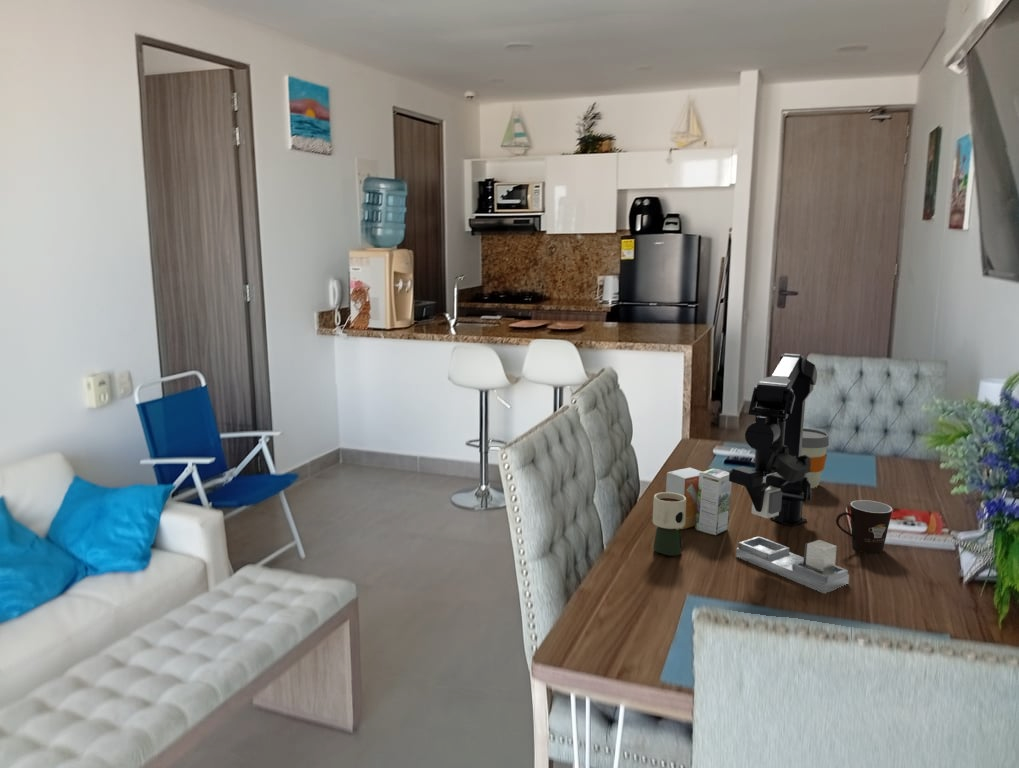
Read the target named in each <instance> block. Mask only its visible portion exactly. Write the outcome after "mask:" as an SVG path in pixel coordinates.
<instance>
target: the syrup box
mask: <svg viewBox="0 0 1019 768" xmlns="http://www.w3.org/2000/svg"><path fill="white" fill-rule="evenodd" d="M729 472H730V471H729ZM729 472H728V471H726V470H722V469H719V468H710V469H707V470H705V471H702V473H699V485H698V499H697V514H696V526H695V527H694V528H695V530H696V531H699V532H702V533H705V534H706V533H707V534H710V535H713V536H717V535H719V534H722V533H724V532H725V531H728V530H729V523H730V522H729V521H730V509H731V498H732V497H731V496H732V483H733V482H730V481H729Z"/></svg>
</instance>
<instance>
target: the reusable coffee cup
mask: <svg viewBox="0 0 1019 768" xmlns="http://www.w3.org/2000/svg"><path fill="white" fill-rule="evenodd" d="M829 442H830V440H829V434H828V433H827V432H826V431H822V430H819V429H814V428H813V429H812V428H805V427H803V437H802V451H801V456H802V455H807V456H808V457H810V459H811V466H810V470H811V471H810V472H809V473H807V478H809V483H810V484H811V489H814V488H813V487H816V488H818V487H819V486H820V480H821V477H822V471H824V470H825V465H826V460H827V457H828V454H827V447H828V446H829ZM818 485H819V486H818ZM817 486H818V487H817Z"/></svg>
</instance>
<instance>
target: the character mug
mask: <svg viewBox="0 0 1019 768" xmlns="http://www.w3.org/2000/svg"><path fill="white" fill-rule="evenodd" d="M652 505H653V506H652V523H653V525H654V526H657V528H656V530H655V534H654V541H653V548H652V549H653V550H654V551H655V552H657V553H660V554H663V555H664V556H666V555H667V556H672V557H673V556H679V555H681V553H682V551H683V543H682V534H681V529H680V528H681V527H684V525H685V514H686V497H685V496H683V495H681V494H677V493H671V492H666V491H665V492H658V493H657V492H656V493H655V494H654V496H653V504H652Z"/></svg>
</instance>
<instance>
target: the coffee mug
mask: <svg viewBox="0 0 1019 768" xmlns="http://www.w3.org/2000/svg"><path fill="white" fill-rule="evenodd" d="M892 514H893V507H892V506H890V505H888V504H886V503H884V502H880V501H874V500H870V499H869V500H867V499H859V500H853V501H851V502H850V512H847V511H844V512H841V513H839V514H838V515H837V516H836V519H835V524H836V526H837V528H839V529H840V530H841V531H842V532H843V533H845V534H846V535H848V537H849V536H850V537H851V547H852V548H853V549H854V550H855V549H856V550H855V551H857V550H858V551H857V552H860V551H862V552H861V553H863V552H866V553H865V554H868V553H879V554H881V553H880V552H882V551H883V552H884V548H885V547H884V546H885V544H886V539H887V534H888V530H889V526H890V522H891V517H892ZM843 516H849V517H850V524H851V525H850V528H851V532H849V531H847V530H846V529H844V528H843V527H842V526H841V524H840V519H841V517H843ZM883 552H882V553H883Z"/></svg>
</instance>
